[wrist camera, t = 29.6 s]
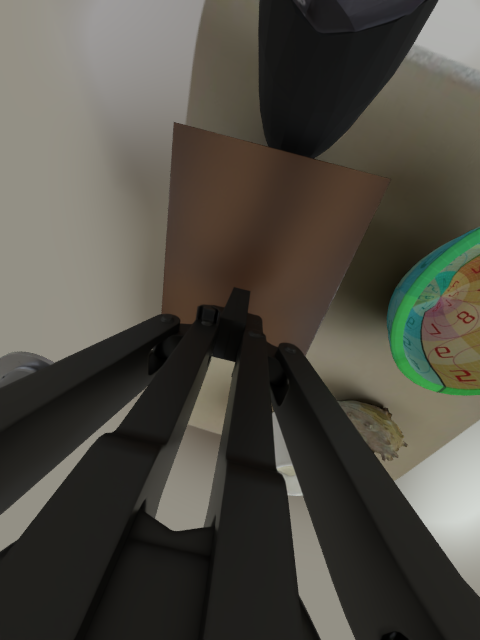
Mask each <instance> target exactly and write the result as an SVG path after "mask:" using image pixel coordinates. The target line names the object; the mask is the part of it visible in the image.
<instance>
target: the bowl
mask: <svg viewBox="0 0 480 640" xmlns="http://www.w3.org/2000/svg"><path fill="white" fill-rule="evenodd" d="M387 329H388V339H389V342H390V349H391V352H392V356H393V359H394V361H395V363H396V365H397V366H398V368H399V369H400V371H401V372H402V373H403V374H404V375H405V376H406V377H407V378H409V379H410V380H411V381H413V382H414V383H416V384H418V385H420V386H422V387H424V388H426V389H429V390H432V391H435V392H439V393H444V394H450V395H480V227H478V228H475V229H473V230H471V231H469V232H467V233H465V234H464V235H462V236H460V237H457V238H455V239H453V240H451V241H449V242H447V243H445V244H444V245H442V246H440V247H438V248H437V249H435V250H434V251H432V252H431V253H430V254H428V255H427V256H425V257H424V258H423V259H421V260H420V261H419V262H418V263H417V264H415V265H414V266H413V267H412V268H411V269H410V270H409V271H408V272H407V273H406V274H405V276H404V277H403V278H402V279H401V281H400V282H399V284H398V285H397V287H396V288H395V290H394V292H393V294H392V297H391V300H390V303H389V306H388V313H387Z"/></svg>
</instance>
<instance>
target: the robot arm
mask: <svg viewBox="0 0 480 640" xmlns="http://www.w3.org/2000/svg"><path fill="white" fill-rule="evenodd" d="M250 292H251V291H248V290H244V289H240V288H236V287H234V288H233V290H232V292H231V294H230V297H229V299H228V301H227V303H226V305H225V307H221V306H217V305H204V304H203V305H199V306H198V307H197V314H196V320H195V321H194V323H193V324H182V323H180V318H179V317H177V316H176V315H172V314H160V315H157V316H155V317H153V318H151V319H148V320H146V321H144V322H142V323H140V324H138V325H136V326H133V327H131V328H129V329H127V330H125V331H123V332H120V333H118V334H116V335H114V336H112V337H109V338H107V339H105V340H103V341H101V342H99V343H96V344H94V345H92V346H90V347H88V348H86V349H83V350H81V351H79V352H77V353H75V354H73V355H71V356H68V357H66V358H64V359H62V360H60V361H58V362H55V363H53V364H51V365H49V366H47V367H45V368H42V369H40V370H37V369H34V368H30V367H17V368H15V369H13V370H11V371H10V372H8V373H7V374H5V375H4V376H3V377H2V378H1V379H0V515H1V514H2V513H3V512H4V511H6V510H7V509H8V508H9V507H10V506H11V505H12V504H14V503H15V502H16V501H17V500H18V499H19V498H20V497H22V496H23V495H24V494H25V493H26V492H27V491H28V490H30V489H31V488H32V487H33V486H34V485H35V484H36V483H37V482H39V481H40V480H41V479H42V478H43V477H44V476H45V475H47V474H48V473H49V472H50V471H51V470H52V469H54V468H55V467H56V466H57V465H58V464H59V463H60V462H61V461H63V460H64V459H65V458H66V457H67V456H68V455H69V454H71V453H72V452H73V451H74V450H75V449H76V448H77V447H79V446H80V445H81V444H82V443H83V442H84V441H85V440H87V439H88V438H89V437H90V436H91V435H92V434H93V433H94V432H96V430H98V429H99V428H100V427H101V426H102V425H104V424H105V423H106V422H107V421H108V420H109V419H110V418H112V417H113V416H114V415H115V414H116V413H117V412H118V411H120V410H121V409H122V408H123V407H124V406H125V405H126V404H127V403H129V402H130V401H131V400H132V399H133V398H134V397H136V396H137V395H138V394H139V393H140V392H141V391H142V390H144V389H145V388H146V387H147V386H148V387H147V388H146V389H145V391H144V392H143V394H142V395H141V396H140V398H139V399H138V400H137V402H136V403H135V405H134V406H133V408H132V409H131V410H130V412H129V413H128V415H127V416H126V417H125V419H124V420H123V421H122V423H121V424H120V426H119V427H118V428H117V429H116V430H115V431H114V432H112V433H105V434H103V435H102V436H101V437H99V438H98V439H97V440H96V441H95V443H94V444H93V445H92V446H91V447H90V448H89V450H88V451H87V452H86V454H85V455H84V456H83V457H82V459H81V460H80V461H79V463H78V464H77V465H76V466H75V467H74V469H73V470H72V471H71V473H70V474H69V475H68V476H67V478H66V479H65V480H64V482H63V483H62V484H61V485H60V487H59V488H58V489H57V490H56V492H55V493H54V494H53V496H52V497H51V498H50V499H49V501H48V502H47V503H46V504H45V506H44V507H43V508H42V510H41V511H40V512H39V513H38V515H37V516H36V517H35V519H34V520H33V521H32V522H31V524H30V525H29V526H28V527H27V529H26V530H25V531H24V533H23V534H22V535H21V536H20V538H19V539H18V540H17V541H15V542H14V543H12V544H10V545H9V546H8V547H6V548H5V549H4V550H2V551H1V552H0V640H321V639H320V637H319V635H318V633H317V631H316V628H315V627H314V625H313V622H312V620H311V618H310V616H309V614H308V612H307V610H306V608H305V606H304V604H303V602H302V600H301V598H300V596H299V594H298V585H297V576H296V567H295V558H294V548H293V539H292V531H291V522H290V513H289V503H288V494H287V488H286V482H285V479H284V477H283V475H282V474H281V473H279V472H278V471H277V468H276V460H275V446H274V433H273V419H272V406H273V409H274V412H275V415H276V418H277V421H278V424H279V427H280V430H281V432H282V435H283V438H284V441H285V444H286V447H287V450H288V453H289V456H290V459H291V462H292V465H293V468H294V470H295V473H296V476H297V479H298V482H299V485H300V488H301V491H302V494H303V497H304V500H305V503H306V505H307V508H308V511H309V514H310V517H311V520H312V523H313V526H314V529H315V532H316V535H317V537H318V540H319V544H320V546H321V549H322V552H323V555H324V558H325V561H326V564H327V567H328V569H329V573H330V576H331V578H332V581H333V584H334V587H335V590H336V592H337V595H338V597H339V600H340V603H341V606H342V608H343V611H344V614H345V616H346V619H347V621H348V623H349V625H350V628H351V630H352V633H353V635H354V637H355V639H356V640H480V597H479V596H478V595H477V594H476V593H475V592H474V590H473V589H472V588H471V587H470V586H469V585H468V584H467V583H466V582H465V581H464V579H463V578H462V577H461V576H460V574H459V573H458V571H457V570H456V568H455V567H454V566H453V564H452V563H451V561H450V560H449V559H448V557H447V556H446V554H445V553H444V551H443V550H442V549H441V547H440V546H439V544H438V543H437V542H436V540H435V539H434V537H433V536H432V535H431V533H430V532H429V530H428V529H427V527H426V526H425V525H424V523H423V522H422V520H421V519H420V518H419V516H418V515H417V513H416V512H415V511H414V509H413V508H412V506H411V505H410V504H409V502H408V501H407V499H406V498H405V497H404V495H403V494H402V492H401V491H400V489H399V488H398V487H397V485H396V484H395V482H394V481H393V480H392V478H391V477H390V475H389V474H388V472H387V471H386V470H385V468H384V467H383V465H382V464H381V463H380V461H379V460H378V458H377V457H376V456H375V454H374V453H373V451H372V450H371V449H370V447H369V446H368V444H367V443H366V441H365V440H364V439H363V437H362V436H361V434H360V433H359V432H358V430H357V429H356V427H355V426H354V425H353V423H352V422H351V420H350V419H349V417H348V416H347V415H346V413H345V412H344V410H343V409H342V408H341V406H340V405H339V403H338V402H337V401H336V399H335V398H334V396H333V395H332V394H331V392H330V391H329V389H328V388H327V386H326V385H325V384H324V382H323V381H322V379H321V378H320V377H319V375H318V374H317V372H316V371H315V370H314V368H313V367H312V365H311V364H310V362H309V361H308V360H307V358H306V357H305V355H304V354H303V353H302V351H301V350H300V349H299V348H298V347H296V346H295V345H293V344H291V343H280V344H279V345H278V347H277V346H274V345H272V344H270V343H269V342H267V339H266V335H265V334H264V333H263V321H262V318H261V317H260V316H258V315H254V314H250V313H248V307H249V299H250ZM152 349H153V350H152ZM212 353H213V354H212ZM212 356H213V357H217V358H221V359H225V360H229V361H233V362H235V366H234V369H233V373H232V376H231V377H232V381H231V387H230V392H229V398H228V403H227V409H226V414H225V419H224V425H223V430H222V436H221V442H220V447H219V452H218V458H217V463H216V469H215V474H214V479H213V485H212V491H211V496H210V501H209V506H208V511H207V515H206V519H205V524H204V528H197V529H191V530H184V531H172V530H170V529H169V528H167V527H166V526H164V525H163V524H162V523H160V522H159V521H157V520H156V519H155V516H156V513H157V509H158V505H159V502H160V498H161V495H162V492H163V489H164V487H165V484H166V481H167V478H168V476H169V473H170V470H171V468H172V464H173V462H174V459H175V456H176V454H177V451H178V449H179V445H180V443H181V440H182V437H183V435H184V432H185V429H186V427H187V424H188V421H189V419H190V416H191V413H192V410H193V408H194V405H195V402H196V400H197V397H198V394H199V391H200V389H201V386H202V383H203V380H204V378H205V375H206V372H207V370H208V367H209V364H210V361H211V357H212ZM271 403H272V406H271Z"/></svg>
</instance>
